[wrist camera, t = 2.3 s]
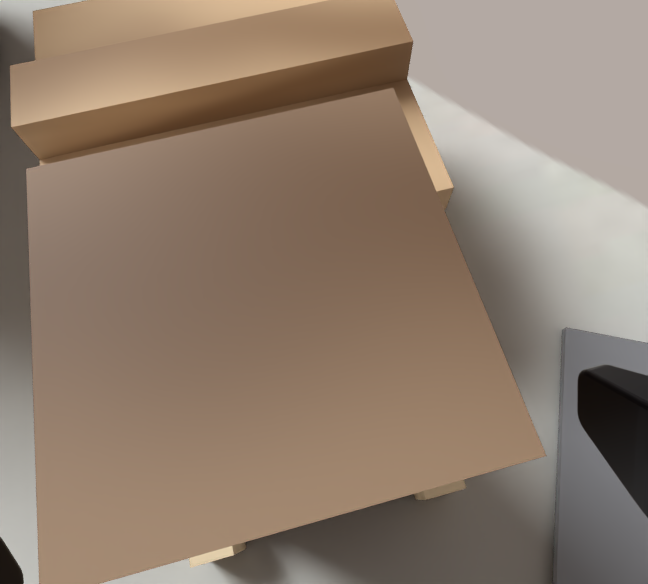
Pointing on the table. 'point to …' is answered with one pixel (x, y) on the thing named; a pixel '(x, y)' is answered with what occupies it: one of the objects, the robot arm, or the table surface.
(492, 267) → the table surface
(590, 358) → the felt mat
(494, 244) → the table surface
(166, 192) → the walnut block
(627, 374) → the robot arm
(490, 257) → the table surface
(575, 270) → the table surface
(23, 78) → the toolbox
